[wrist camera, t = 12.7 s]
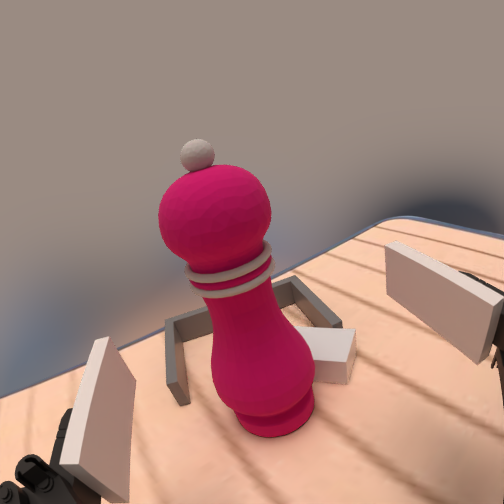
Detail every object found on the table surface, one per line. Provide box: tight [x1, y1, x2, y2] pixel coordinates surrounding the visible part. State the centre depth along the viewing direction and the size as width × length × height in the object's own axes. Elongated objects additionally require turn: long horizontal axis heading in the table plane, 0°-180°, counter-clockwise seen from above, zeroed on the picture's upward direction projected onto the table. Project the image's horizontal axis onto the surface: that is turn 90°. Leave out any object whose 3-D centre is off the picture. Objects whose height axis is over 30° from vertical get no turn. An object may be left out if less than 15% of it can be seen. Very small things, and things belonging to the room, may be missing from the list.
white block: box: [293, 326, 357, 384], centre depth 25 cm, size 8×4×3 cm, turn 64°
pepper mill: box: [158, 139, 315, 437], centre depth 18 cm, size 7×7×20 cm
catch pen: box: [165, 275, 343, 406], centre depth 29 cm, size 16×11×3 cm
